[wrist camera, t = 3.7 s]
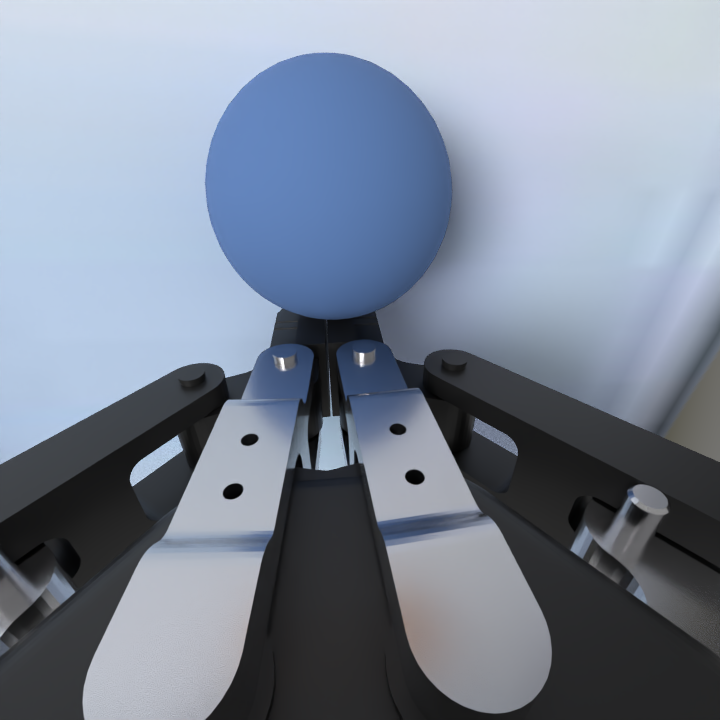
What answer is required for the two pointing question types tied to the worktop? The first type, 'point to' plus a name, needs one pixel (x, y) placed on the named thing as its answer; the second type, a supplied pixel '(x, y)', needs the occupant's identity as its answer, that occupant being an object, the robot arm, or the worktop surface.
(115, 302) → the worktop surface
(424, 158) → the ball
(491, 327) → the worktop surface
